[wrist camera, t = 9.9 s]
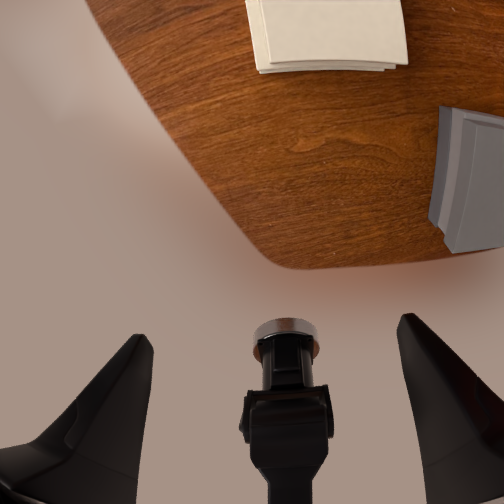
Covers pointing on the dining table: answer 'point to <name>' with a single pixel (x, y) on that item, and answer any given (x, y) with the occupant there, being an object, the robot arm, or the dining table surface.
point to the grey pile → (469, 180)
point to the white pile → (265, 67)
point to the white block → (334, 31)
